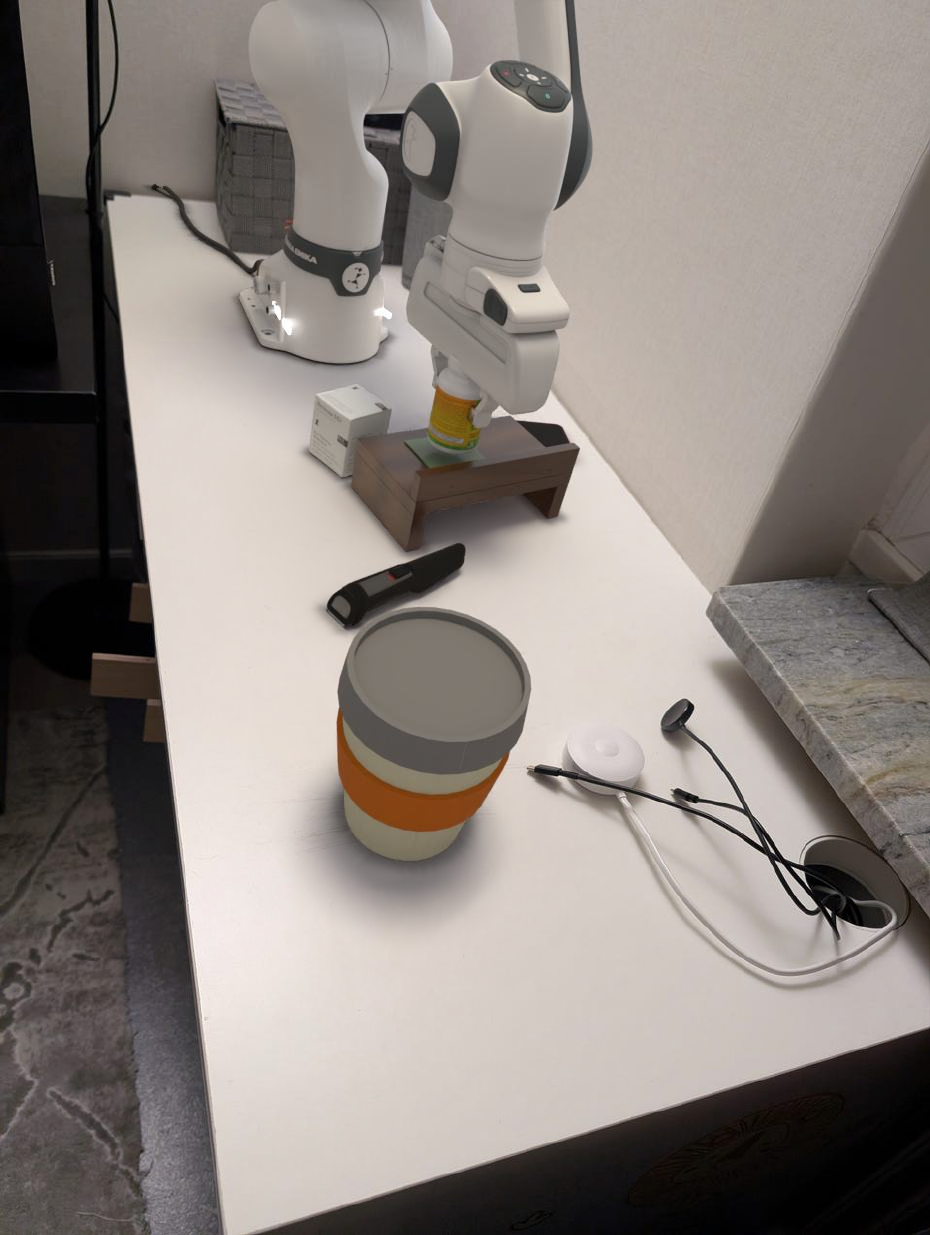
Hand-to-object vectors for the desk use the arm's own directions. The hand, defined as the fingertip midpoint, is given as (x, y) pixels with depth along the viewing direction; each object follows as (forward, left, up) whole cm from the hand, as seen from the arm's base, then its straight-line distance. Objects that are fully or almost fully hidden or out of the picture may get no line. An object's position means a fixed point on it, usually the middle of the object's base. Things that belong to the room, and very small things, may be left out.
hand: (459, 407), depth 91 cm
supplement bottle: (0, 0, -4) cm, 4 cm away
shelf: (0, +2, -12) cm, 12 cm away
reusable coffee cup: (+33, -24, -12) cm, 43 cm away
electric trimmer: (+11, -12, -12) cm, 20 cm away
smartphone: (-9, +16, -12) cm, 22 cm away
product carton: (-10, -6, -12) cm, 17 cm away
